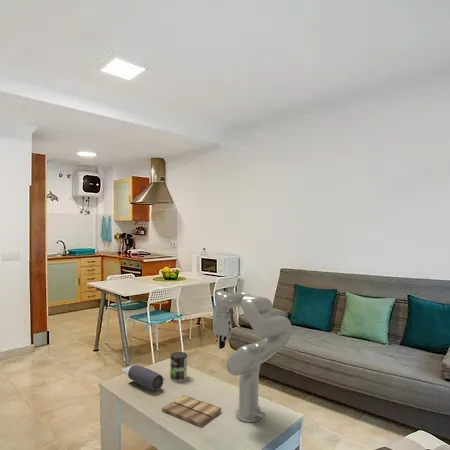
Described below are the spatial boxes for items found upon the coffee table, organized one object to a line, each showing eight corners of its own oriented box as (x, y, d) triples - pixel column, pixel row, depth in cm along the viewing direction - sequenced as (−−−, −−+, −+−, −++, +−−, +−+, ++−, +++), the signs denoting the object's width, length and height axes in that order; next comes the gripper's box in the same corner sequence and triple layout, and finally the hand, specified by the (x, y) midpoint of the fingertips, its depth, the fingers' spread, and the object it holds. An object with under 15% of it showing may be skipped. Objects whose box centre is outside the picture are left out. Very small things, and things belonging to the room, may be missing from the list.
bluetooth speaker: (164, 389, 202) (164, 371, 202) (151, 394, 194) (151, 376, 194) (139, 378, 216) (140, 361, 216) (127, 383, 209) (127, 366, 209)
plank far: (200, 404, 184) (200, 401, 184) (190, 411, 177) (190, 407, 177) (183, 397, 191) (183, 394, 191) (173, 404, 184) (173, 401, 184)
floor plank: (210, 419, 170) (211, 416, 170) (200, 427, 163) (200, 423, 163) (172, 404, 184) (172, 401, 184) (161, 411, 177) (161, 407, 177)
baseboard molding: (148, 386, 205) (164, 380, 214) (148, 381, 205) (164, 375, 214) (118, 372, 226) (134, 366, 235) (118, 367, 226) (134, 362, 235)
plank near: (221, 411, 177) (221, 407, 177) (211, 419, 170) (211, 415, 170) (202, 404, 184) (202, 401, 183) (192, 411, 177) (192, 408, 177)
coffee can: (177, 382, 210) (177, 359, 210) (166, 377, 217) (167, 354, 217) (190, 377, 217) (190, 354, 217) (179, 372, 224) (180, 350, 225)
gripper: (237, 314, 192) (237, 348, 192) (215, 311, 200) (214, 343, 200) (229, 317, 186) (229, 352, 186) (207, 313, 194) (207, 346, 194)
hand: (221, 347), depth 193 cm, fingers closed
